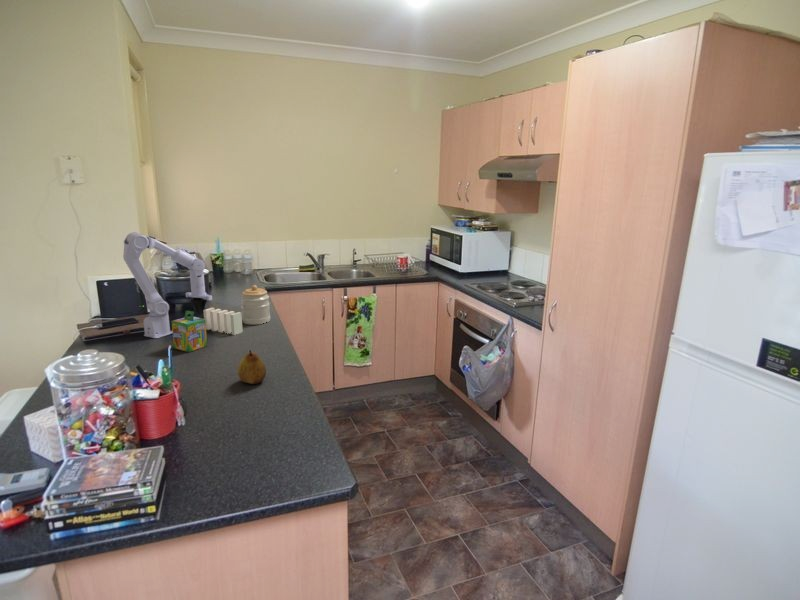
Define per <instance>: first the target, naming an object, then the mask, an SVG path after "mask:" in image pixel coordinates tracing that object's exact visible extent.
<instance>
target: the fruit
mask: <svg viewBox="0 0 800 600" xmlns="http://www.w3.org/2000/svg"><path fill="white" fill-rule="evenodd" d="M265 365H266V364H265V363H264V362H263V360H262V359H261V358H260V356H259V355H258V354H257V353H255V352H252V350H250V349H249V352H248V353H246V354H245V355H244V357H243V358H242V359H241V360H240V362H239V364H238V367H237V375H238V378H239V380H241V381H242V382H243V383H245V384H251V385H257V384H259V383H262V382H263V381H264V379H265V377H266V374H267V368H266V366H265ZM241 381H240V382H241Z"/></svg>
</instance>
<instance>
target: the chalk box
mask: <svg viewBox="0 0 800 600" xmlns="http://www.w3.org/2000/svg"><path fill="white" fill-rule="evenodd" d="M188 315H190V316H188ZM194 315H195V312H194V311H191V310H185V313H184V317H182V318H177V319H174V320H171V321H170V322H171V331H172V344H173V346H172V347H173V349H175V350H179V351H182V352H186V353H191V352H193V351H197V350H200V349H203V348H205V347H208V338H207V330H206V322H205V319H204V317H203V318H202V317H197V316H194Z"/></svg>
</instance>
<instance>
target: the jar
mask: <svg viewBox="0 0 800 600" xmlns="http://www.w3.org/2000/svg"><path fill="white" fill-rule="evenodd" d="M269 298H270V296H269V294H268V291H267V290H265V288H260V287H258V286H257V285H256V284H253V285H252V286H251V288H247V289H245V290H244V291H242V296H241V297H240V300H241V304H240V306H241V315H242V324H245V325H249V326H251V325H254V326H255V325H264V324H267V323H270V321H271V312H270V311H271V309H270V301H269ZM266 322H267V323H266ZM263 323H264V324H263Z"/></svg>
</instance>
